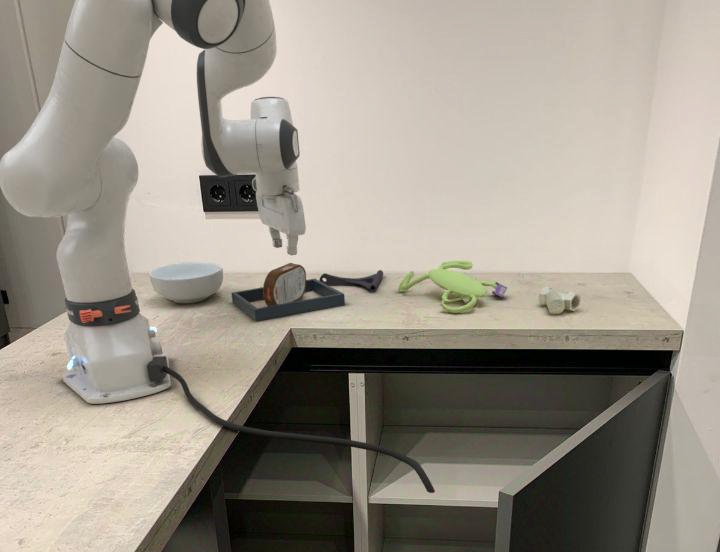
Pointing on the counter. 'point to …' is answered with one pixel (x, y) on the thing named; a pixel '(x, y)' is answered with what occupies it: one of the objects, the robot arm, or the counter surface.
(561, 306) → the pipe fitting
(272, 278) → the tin
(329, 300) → the tray
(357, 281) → the bracket
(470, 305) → the figurine
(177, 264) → the cereal bowl
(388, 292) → the counter surface
